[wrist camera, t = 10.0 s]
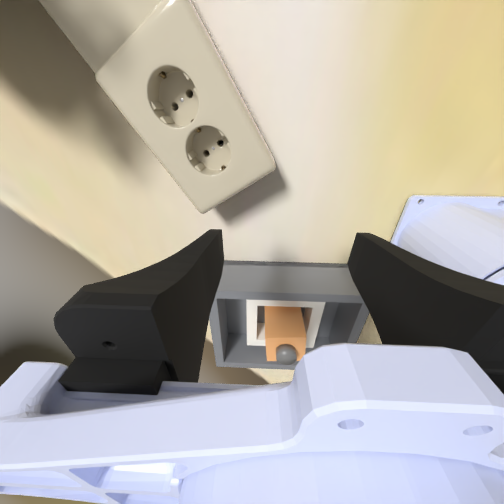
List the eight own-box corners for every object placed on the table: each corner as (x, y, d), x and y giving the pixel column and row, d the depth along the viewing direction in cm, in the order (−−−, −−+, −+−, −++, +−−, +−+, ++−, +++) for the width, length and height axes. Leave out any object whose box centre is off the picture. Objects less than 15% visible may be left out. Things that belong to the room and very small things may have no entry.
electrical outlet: (35, -288, 8) (278, 169, 16) (105, -163, 11) (275, 159, 19) (-49, -98, 10) (200, 217, 18) (31, -43, 13) (210, 200, 21)
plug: (296, 316, 28) (306, 370, 22) (266, 316, 28) (267, 370, 22) (297, 293, 26) (308, 346, 20) (264, 294, 26) (265, 347, 20)
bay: (356, 264, 24) (376, 295, 20) (332, 336, 31) (343, 371, 27) (214, 260, 25) (205, 290, 20) (222, 332, 32) (216, 366, 27)
